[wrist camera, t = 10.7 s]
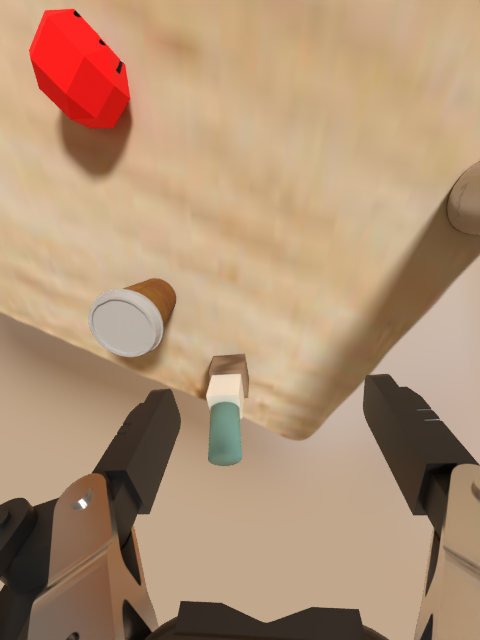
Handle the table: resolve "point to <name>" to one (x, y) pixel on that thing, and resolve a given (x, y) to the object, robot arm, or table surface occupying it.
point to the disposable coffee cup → (132, 317)
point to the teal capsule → (225, 434)
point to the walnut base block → (231, 368)
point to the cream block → (226, 391)
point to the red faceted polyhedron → (79, 70)
